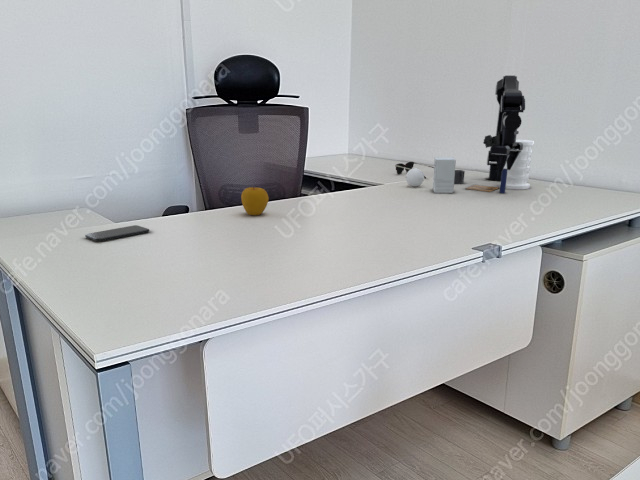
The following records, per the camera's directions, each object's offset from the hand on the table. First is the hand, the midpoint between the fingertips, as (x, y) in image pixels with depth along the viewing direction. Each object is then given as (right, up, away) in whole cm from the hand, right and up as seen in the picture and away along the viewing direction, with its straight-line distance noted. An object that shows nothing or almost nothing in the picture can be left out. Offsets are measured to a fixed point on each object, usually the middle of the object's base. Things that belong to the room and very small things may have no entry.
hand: (504, 171), depth 223 cm
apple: (-90, -21, -33) cm, 99 cm away
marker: (0, -8, +3) cm, 8 cm away
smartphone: (-126, -31, -59) cm, 142 cm away
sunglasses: (-26, +7, +42) cm, 50 cm away
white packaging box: (-22, -7, +5) cm, 24 cm away
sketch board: (-5, -5, +11) cm, 13 cm away
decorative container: (+9, -3, +15) cm, 18 cm away
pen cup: (-12, 0, +24) cm, 27 cm away
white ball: (-32, -3, +17) cm, 36 cm away
